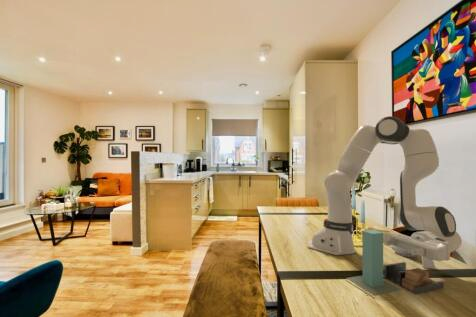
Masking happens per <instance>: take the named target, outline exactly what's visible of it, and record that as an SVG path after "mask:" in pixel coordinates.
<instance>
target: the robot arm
mask: <svg viewBox="0 0 476 317" xmlns="http://www.w3.org/2000/svg"><path fill="white" fill-rule="evenodd" d="M378 144H385V145H400V147H401V148H402V151H403V156H404V166H403V170H402V171H401V172H400V176H399V191H400V192H399V194H400V195H399V197H400V199H399V200H400V208H399V216H398V217H399V221H400V223H401V224H402V225H403V226H404V227H405V228H406V229H407V230H409V231H416V232H413V233H412V234H411V235H410V236H409V235H406V234H402V233H398V232H391V233H390V232H389V233H383V246H384V245H385V246H388V247H389V246H390V247H391V245H393V246H396V247H398V248H401V249H404V250H407V251H408V253H409V254H411V255H416V256H424V257H427V258H429V259H432V260H433V261H437V262H442V261H450V260H451V253H452V252H456V251H457V250H458V249H459V248H460V247H461V246H462V242H463V241H462V237H461V235H460V234H459V233H458V232H457V223H456V222H457V221H456V218H455V217H454V215H453V214H452V213H451V211H449V209H447V208H446V207H443V206H433V205H432V206H417V202H416V201H417V199H416V197H417V196H416V187H417V185H418V183H419V182H420V181H422V180H423V179H425V178H427V177H429V176H431V175H432V174H434V173H435V172H436V170H437V169H439V166H440V159H439V154H438V151H437V147H436V144H435V141H434V139H433V136H432V134H431V132H430V131H429V130H428V129H424V128H412V129H411V128H410V127H409V126H408V125H407V124H406V123H405V122H404V121H402V119H400V118H398V117H396V116H393V115H392V116H389V115H388V116H384V117H382V118H381V119H380V120H378V121H377V123H376V124H375V126H373V125H369V124H368V125H367V124H366V125H365V124H364V125H362V126H360V127H359V128H358V129H357V130H356V131H355V132H354V134H353V135H352V137H351V138H350V140H349V141H348V143H347V145H346V147H345V148H344V150H343V151H342V154H341V155H340V158H339V161H338V162H337V163H338V164H337V166H336V168H335V170H334V171H332V172H330V173H328V174H327V176H326V177H325V179H324V187H325V194H326V201H327V217H325V218H324V220H323V226H322V227H321V228H319V229H317V230H315V231H314V233H313V234H312V237H311V239H310V240H309V241H308V242H307V245H306V246H307V248H308V249H312V250H315V251H319V252H324V253H327V254H331V255H334V256H340V255H341V256H342V255H351V254H354V253H356V248H355V244H354V239H353V238H354V237H353V234H354V225H353V224H354V223H353V220H352V219H353V216H352V212H353V205H352V201H351V189H352V188H353V187H354V185H355V183H356V181H357V179H358V178H359V175H360V173H361V171H362V169H363V167H364V166H365V164H366V162H367V161H368V159H369V157H370V156H371V155H372V152H373V151H374V149H375V148H376V146H377V145H378Z"/></svg>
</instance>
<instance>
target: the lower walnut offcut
mask: <svg viewBox="0 0 476 317" xmlns="http://www.w3.org/2000/svg"><path fill="white" fill-rule="evenodd" d="M430 283H434V280H433V279H431V278H429V280H426V281H423V282H420V283H417V284H416V283H414V282H412V281H409V280H407V279H405V278H402V286H404V287H405V288H407V289H409V290H411V291H413V287H416V286H420V285H425V284H430Z"/></svg>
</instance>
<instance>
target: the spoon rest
mask: <svg viewBox="0 0 476 317" xmlns="http://www.w3.org/2000/svg"><path fill="white" fill-rule="evenodd" d="M390 248H391V249H392V250H393V251H394V252H395V253H396V254H398V255H399V256H401V257H404V256H405V258H413V257H416V256H417V255H411V254H409V253H408V251H407V250H404V249H401V248H398V247H396V246H393V245H391V246H390ZM420 256H421V255H420ZM421 261H422V265H421V267H422V269H423V268H424V269H434V270H436V265H435V262H434V260H432V259H429V258H427V257H424V256H421Z"/></svg>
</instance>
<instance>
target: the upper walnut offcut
mask: <svg viewBox="0 0 476 317" xmlns="http://www.w3.org/2000/svg"><path fill="white" fill-rule="evenodd" d="M419 268H420V267H417V268H413V269H412V268H411V269H412V270H411V269H408V270H409V271H405V279H407V280H409V281H412V282H414V283H416V284H417V283H420V282H423V281H426V280H429V279H430V272H429V271H428V270H424V269H423V268H422V269H421V268H420V269H419Z"/></svg>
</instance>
